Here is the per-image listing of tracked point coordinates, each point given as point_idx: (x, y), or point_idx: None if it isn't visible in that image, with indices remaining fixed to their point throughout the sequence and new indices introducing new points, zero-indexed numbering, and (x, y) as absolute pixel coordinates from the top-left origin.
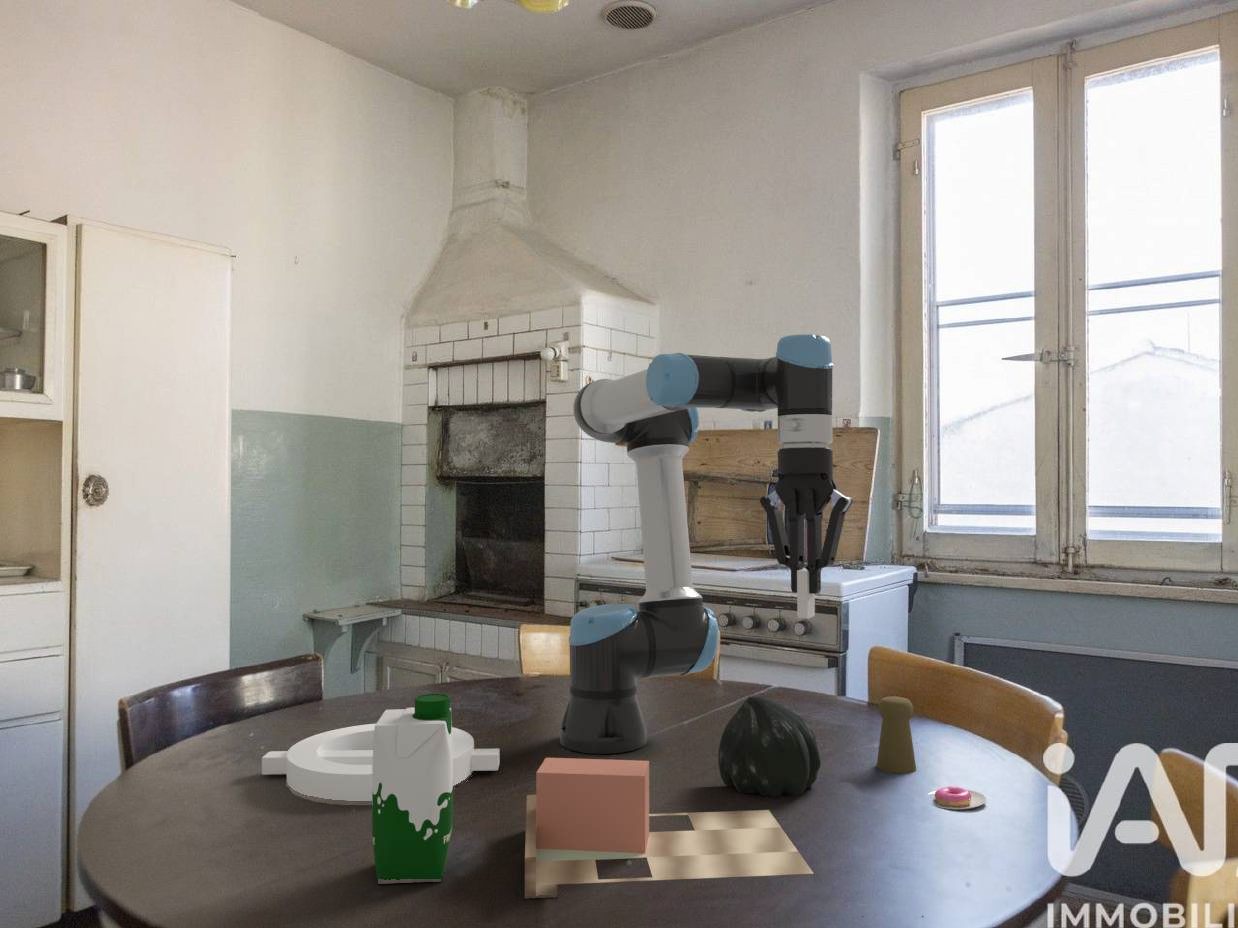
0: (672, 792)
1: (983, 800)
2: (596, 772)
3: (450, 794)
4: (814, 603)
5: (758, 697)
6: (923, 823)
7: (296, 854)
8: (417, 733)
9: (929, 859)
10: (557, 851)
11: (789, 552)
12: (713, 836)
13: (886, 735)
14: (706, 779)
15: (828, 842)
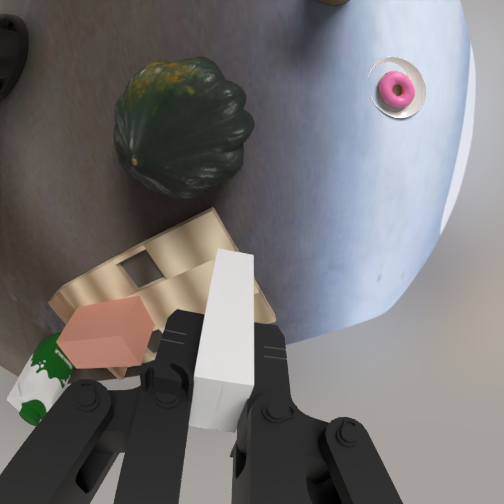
0: (99, 164)
1: (422, 93)
2: (106, 363)
3: (60, 380)
4: (253, 281)
5: (147, 158)
6: (364, 162)
7: (14, 339)
8: None
9: (360, 245)
10: None
11: (94, 445)
12: (185, 285)
13: None
14: (114, 108)
15: (277, 237)
